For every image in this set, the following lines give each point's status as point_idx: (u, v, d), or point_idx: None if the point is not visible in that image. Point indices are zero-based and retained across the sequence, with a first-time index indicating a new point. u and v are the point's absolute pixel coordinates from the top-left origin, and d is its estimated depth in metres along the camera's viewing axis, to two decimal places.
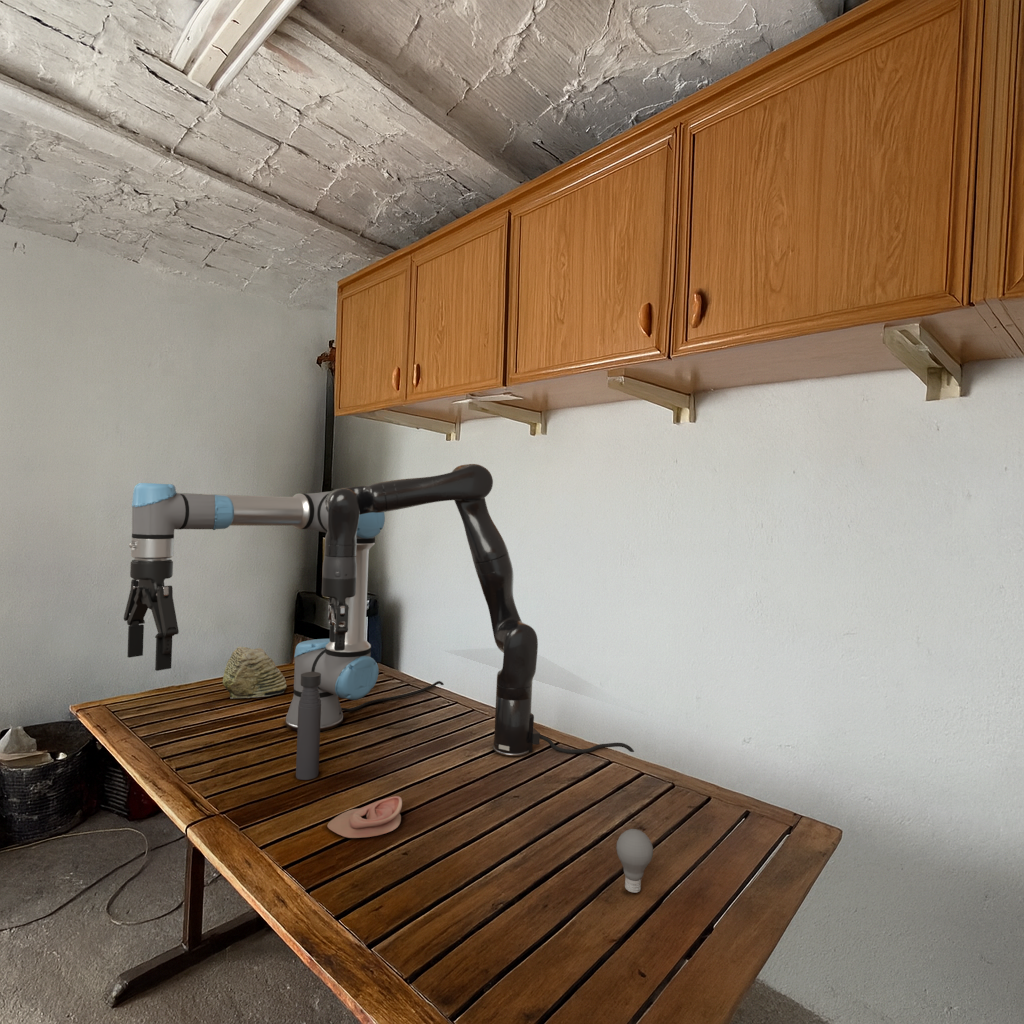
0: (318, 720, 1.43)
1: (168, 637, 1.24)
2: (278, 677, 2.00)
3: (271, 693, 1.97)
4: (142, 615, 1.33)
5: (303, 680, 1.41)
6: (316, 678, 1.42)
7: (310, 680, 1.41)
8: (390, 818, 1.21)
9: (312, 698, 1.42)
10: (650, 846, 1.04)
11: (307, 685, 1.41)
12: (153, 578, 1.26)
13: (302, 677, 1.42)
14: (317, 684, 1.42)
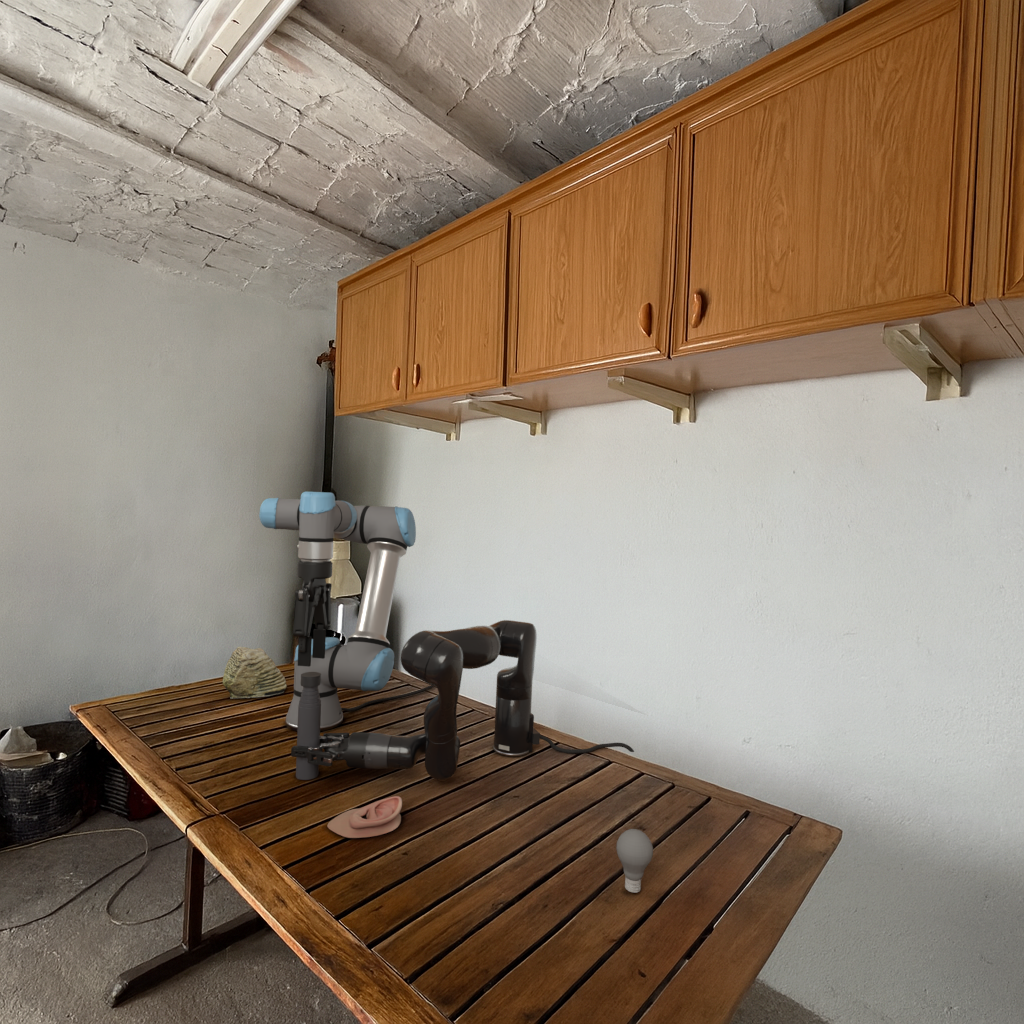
0: (318, 720, 1.43)
1: (301, 637, 1.38)
2: (278, 677, 2.00)
3: (271, 693, 1.97)
4: (322, 618, 1.46)
5: (303, 680, 1.41)
6: (316, 678, 1.42)
7: (310, 680, 1.41)
8: (390, 818, 1.21)
9: (312, 698, 1.42)
10: (650, 846, 1.04)
11: (307, 685, 1.41)
12: (302, 577, 1.39)
13: (302, 677, 1.42)
14: (317, 684, 1.42)
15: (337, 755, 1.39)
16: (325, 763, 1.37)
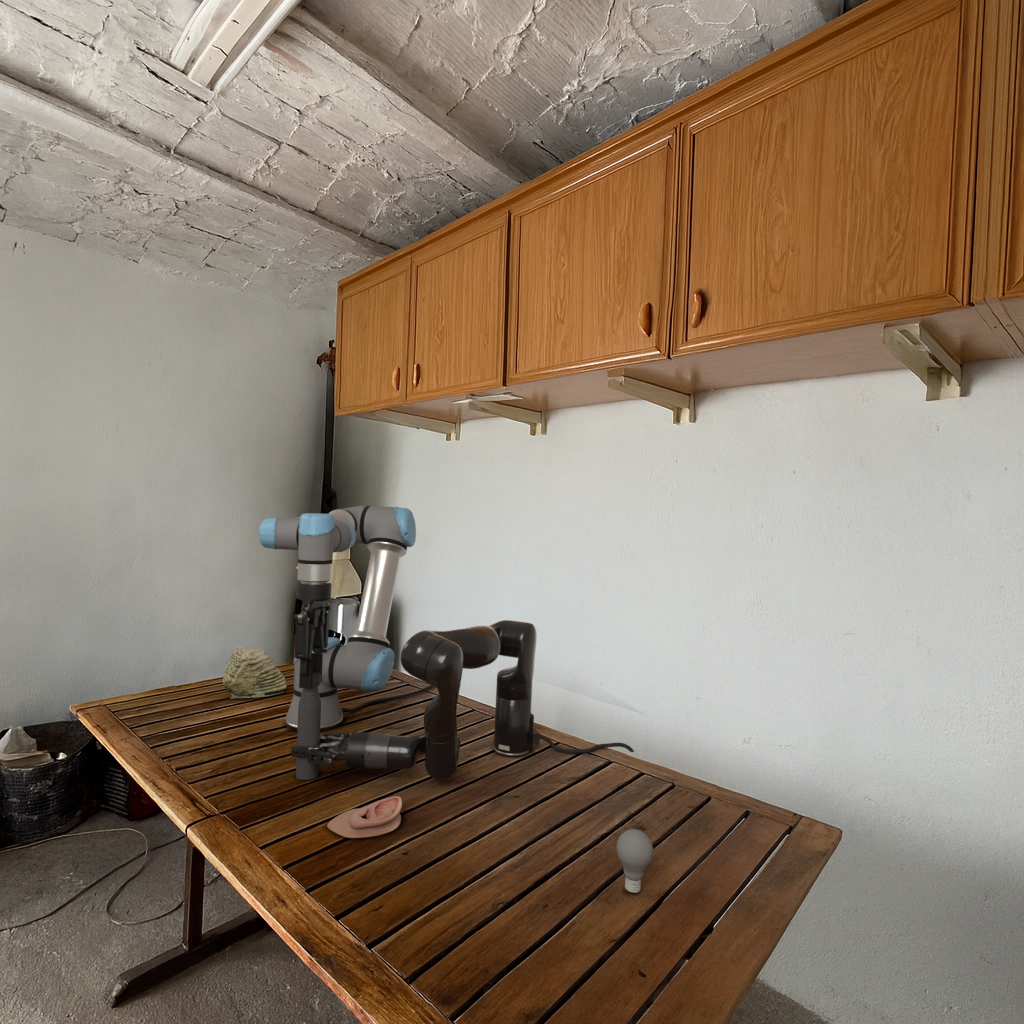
0: (318, 720, 1.43)
1: (303, 660, 1.39)
2: (278, 677, 2.00)
3: (271, 693, 1.97)
4: (319, 640, 1.45)
5: None
6: (316, 678, 1.42)
7: None
8: (390, 818, 1.21)
9: (312, 698, 1.42)
10: (650, 846, 1.04)
11: None
12: (301, 599, 1.39)
13: None
14: (317, 684, 1.42)
15: (337, 755, 1.39)
16: (325, 763, 1.37)
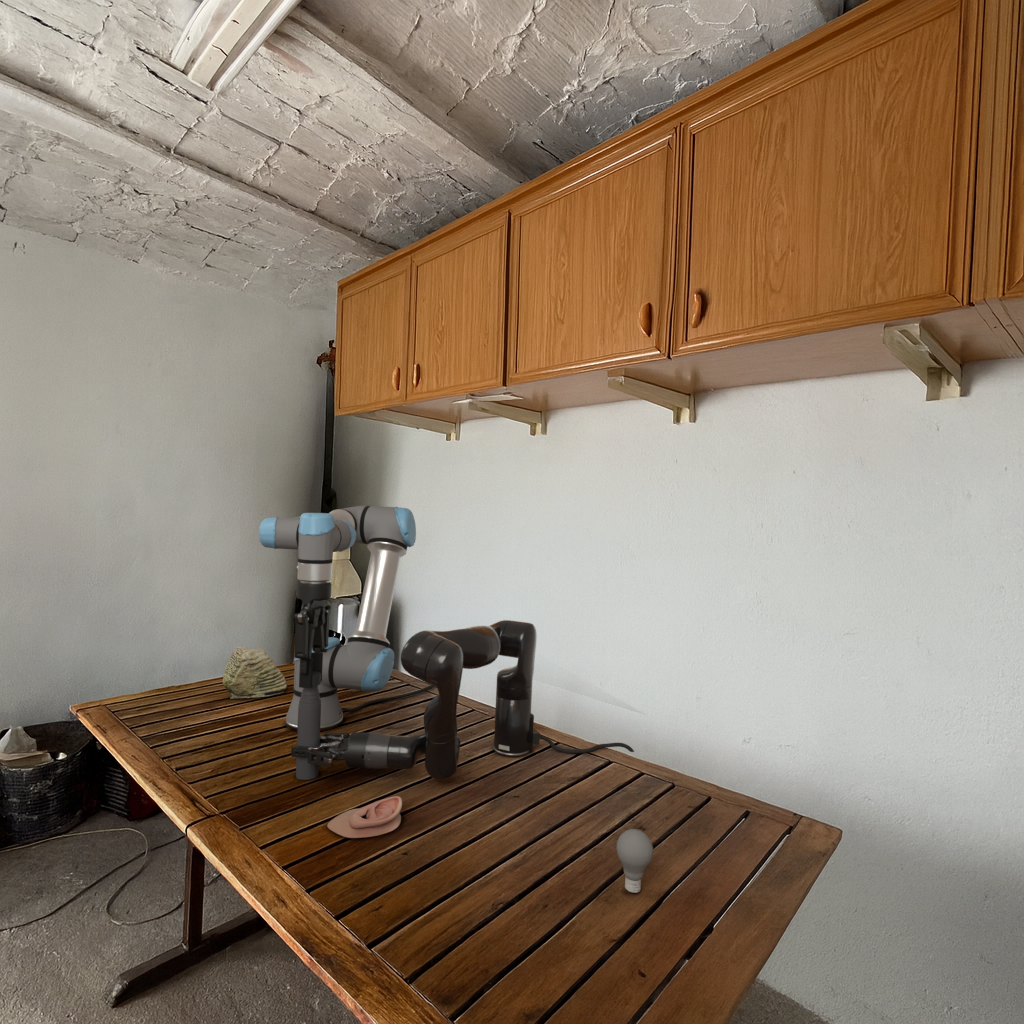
0: (318, 720, 1.43)
1: (303, 659, 1.39)
2: (278, 677, 2.00)
3: (271, 693, 1.97)
4: (319, 640, 1.45)
5: (320, 678, 1.43)
6: None
7: None
8: (390, 818, 1.21)
9: (312, 698, 1.42)
10: (650, 846, 1.04)
11: None
12: (301, 598, 1.39)
13: (319, 676, 1.43)
14: None
15: (337, 755, 1.39)
16: (325, 763, 1.37)
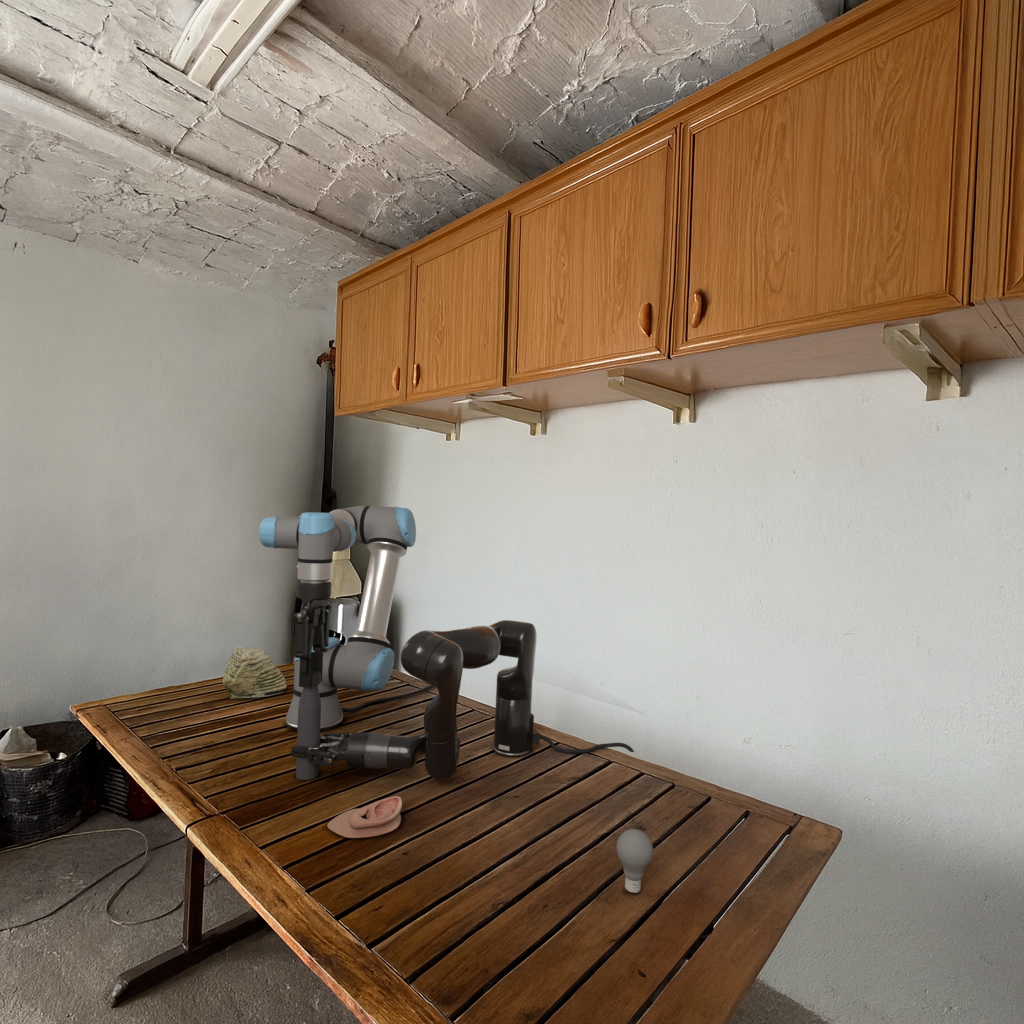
0: (318, 720, 1.43)
1: (303, 659, 1.39)
2: (278, 677, 2.00)
3: (271, 693, 1.97)
4: (319, 639, 1.45)
5: None
6: None
7: None
8: (390, 818, 1.21)
9: (312, 698, 1.42)
10: (650, 846, 1.04)
11: None
12: (301, 598, 1.39)
13: None
14: None
15: (337, 755, 1.39)
16: (325, 763, 1.37)
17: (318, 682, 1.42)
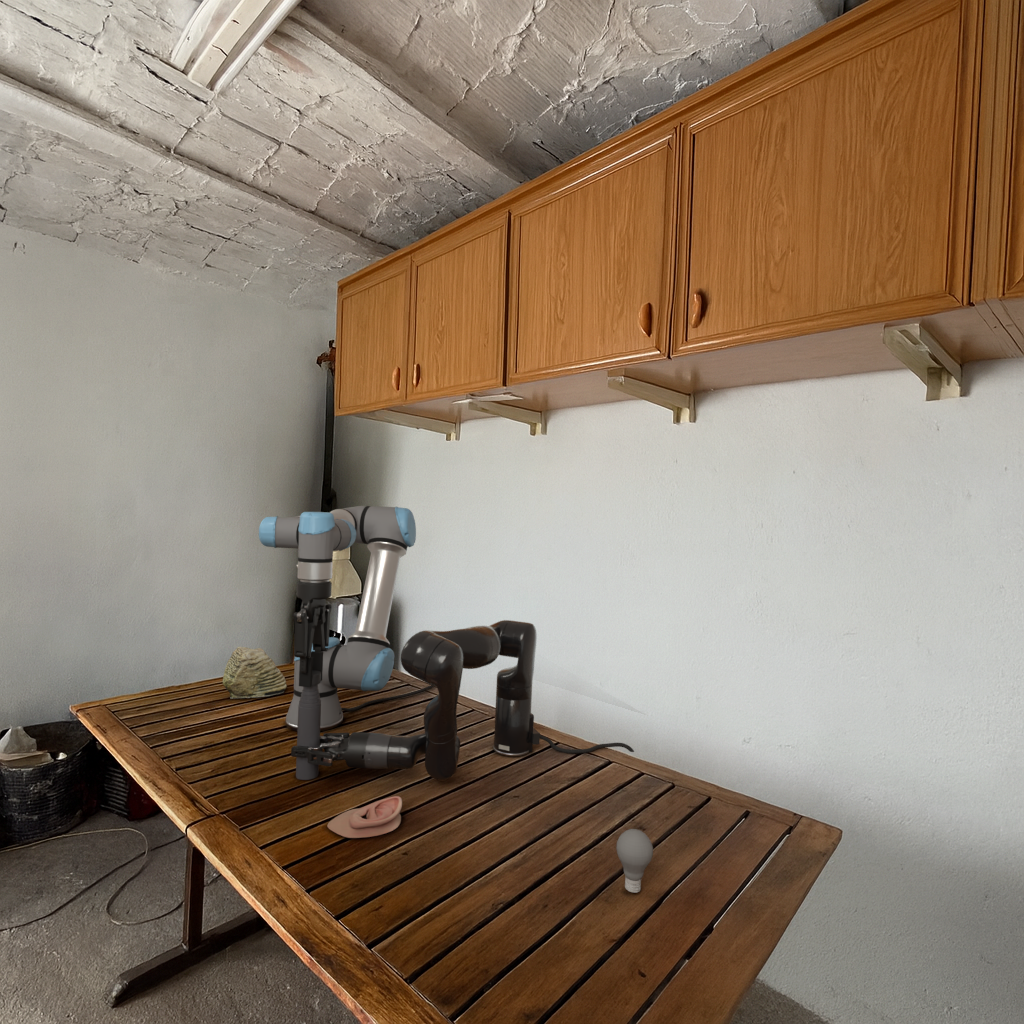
0: (318, 720, 1.43)
1: (302, 658, 1.39)
2: (278, 677, 2.00)
3: (271, 693, 1.97)
4: (319, 639, 1.45)
5: None
6: (315, 676, 1.42)
7: None
8: (390, 818, 1.21)
9: (312, 698, 1.42)
10: (650, 846, 1.04)
11: None
12: (301, 597, 1.39)
13: None
14: (317, 683, 1.42)
15: (337, 755, 1.39)
16: (325, 763, 1.37)
17: None
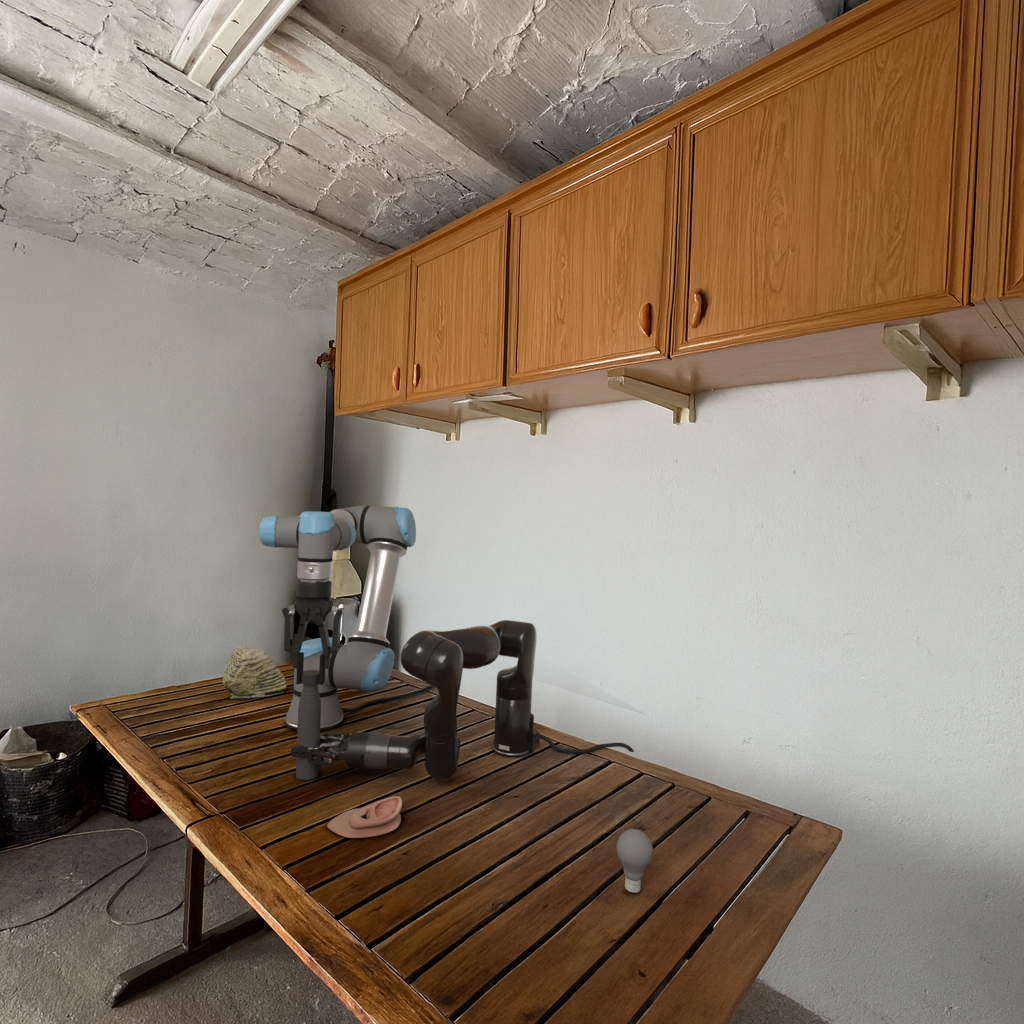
0: (318, 720, 1.43)
1: (330, 654, 1.43)
2: (278, 677, 2.00)
3: (271, 693, 1.97)
4: (302, 639, 1.44)
5: (318, 677, 1.43)
6: None
7: None
8: (390, 818, 1.21)
9: (312, 698, 1.42)
10: (650, 846, 1.04)
11: None
12: (329, 596, 1.42)
13: (317, 675, 1.42)
14: None
15: (337, 755, 1.39)
16: (325, 763, 1.37)
17: None
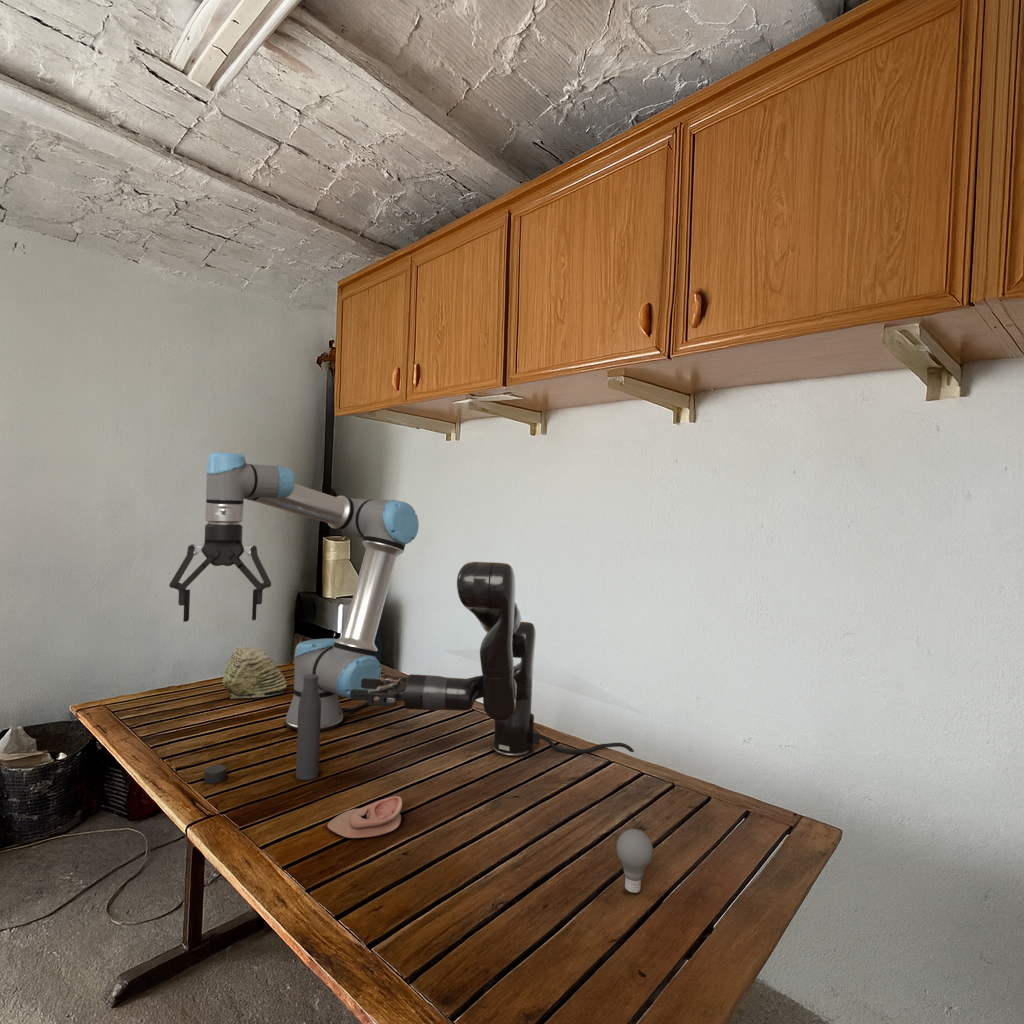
0: (318, 720, 1.43)
1: None
2: (278, 677, 2.00)
3: (271, 693, 1.97)
4: None
5: (224, 773, 1.40)
6: None
7: None
8: (390, 818, 1.21)
9: (312, 698, 1.42)
10: (650, 846, 1.04)
11: (225, 776, 1.41)
12: (241, 540, 1.39)
13: (223, 771, 1.39)
14: None
15: (397, 695, 1.39)
16: (389, 703, 1.36)
17: (204, 779, 1.38)
